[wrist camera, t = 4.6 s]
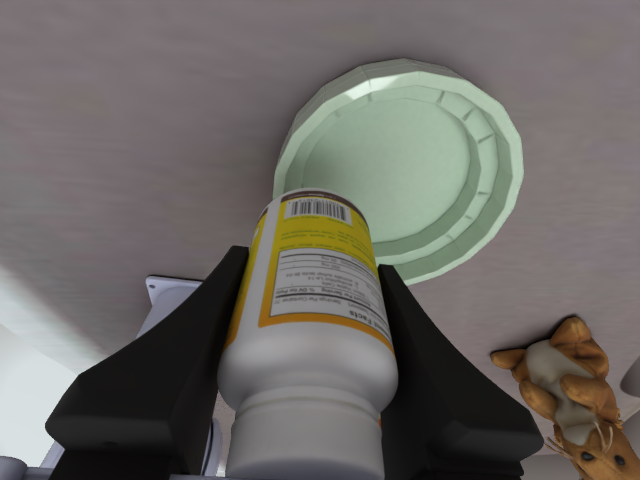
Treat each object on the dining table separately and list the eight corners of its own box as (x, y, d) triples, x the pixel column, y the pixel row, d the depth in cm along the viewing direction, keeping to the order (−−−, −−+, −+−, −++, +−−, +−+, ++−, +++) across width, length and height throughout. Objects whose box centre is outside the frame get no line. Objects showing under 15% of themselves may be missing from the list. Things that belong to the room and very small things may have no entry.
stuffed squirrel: (574, 309, 30) (701, 470, 20) (614, 361, 37) (726, 504, 26) (479, 347, 35) (544, 495, 25) (529, 388, 41) (597, 519, 31)
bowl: (437, 261, 26) (453, 297, 23) (273, 239, 25) (266, 275, 22) (539, 83, 17) (585, 104, 14) (292, 33, 16) (285, 43, 13)
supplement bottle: (297, 282, 18) (277, 515, 10) (234, 214, 15) (133, 472, 7) (386, 245, 16) (449, 496, 8) (335, 159, 13) (356, 426, 5)
